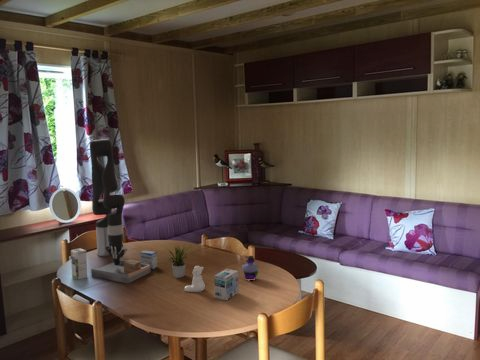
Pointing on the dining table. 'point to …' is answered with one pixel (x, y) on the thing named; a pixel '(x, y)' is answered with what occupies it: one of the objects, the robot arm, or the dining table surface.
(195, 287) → the white creature statuette
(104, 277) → the grey tray
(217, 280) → the light bulb box
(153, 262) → the medicine box
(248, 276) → the potion bottle
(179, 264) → the house plant
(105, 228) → the robot arm
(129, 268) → the walnut block
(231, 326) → the dining table surface
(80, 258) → the syrup box
